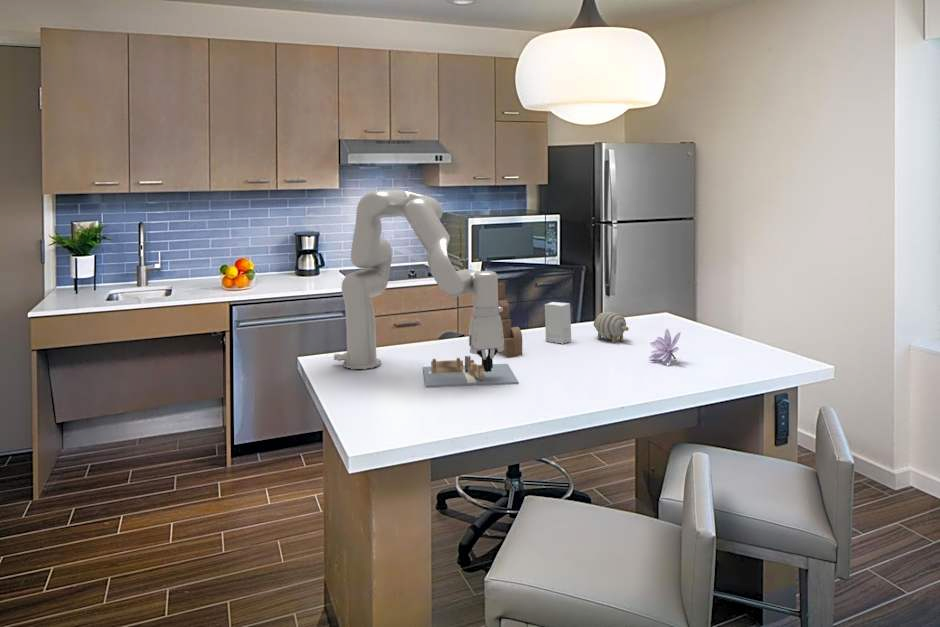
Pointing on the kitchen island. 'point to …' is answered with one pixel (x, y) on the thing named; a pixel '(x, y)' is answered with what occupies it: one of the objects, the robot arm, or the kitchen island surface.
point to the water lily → (664, 347)
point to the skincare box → (558, 322)
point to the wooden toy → (508, 327)
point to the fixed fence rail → (447, 365)
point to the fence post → (467, 362)
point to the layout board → (470, 377)
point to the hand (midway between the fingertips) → (487, 370)
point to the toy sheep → (610, 325)
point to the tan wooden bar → (476, 370)
